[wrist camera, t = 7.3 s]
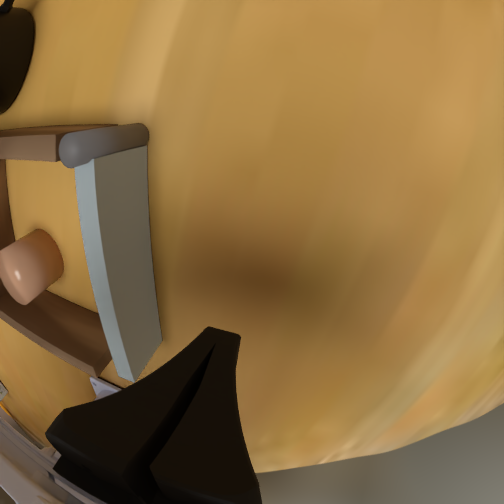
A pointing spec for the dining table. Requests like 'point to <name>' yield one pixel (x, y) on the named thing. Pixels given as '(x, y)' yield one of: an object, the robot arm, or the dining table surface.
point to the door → (117, 237)
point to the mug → (13, 50)
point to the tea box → (2, 391)
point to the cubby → (46, 303)
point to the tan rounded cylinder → (30, 265)
